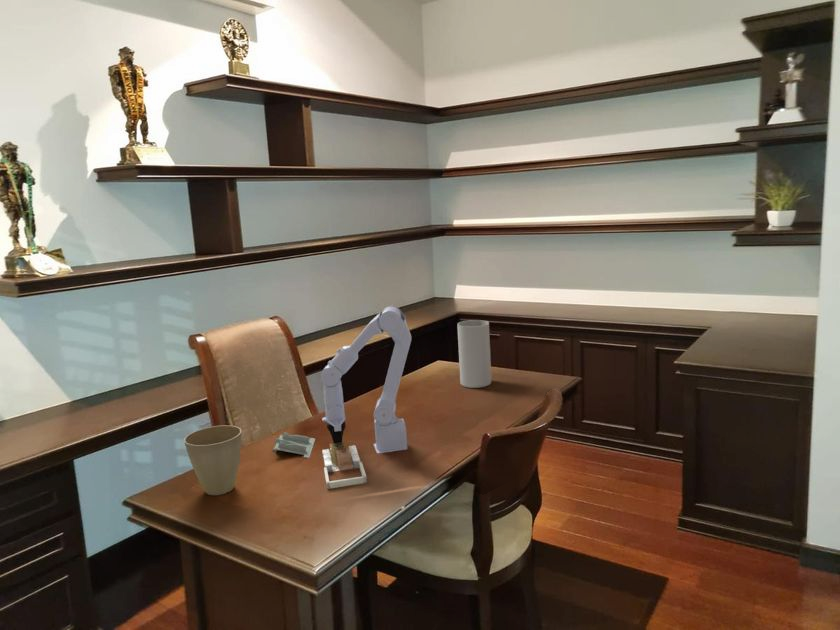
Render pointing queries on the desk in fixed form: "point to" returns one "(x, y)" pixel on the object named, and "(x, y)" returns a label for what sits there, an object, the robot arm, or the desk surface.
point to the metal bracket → (294, 444)
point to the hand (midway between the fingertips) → (337, 445)
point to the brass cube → (333, 450)
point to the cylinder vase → (474, 353)
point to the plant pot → (215, 457)
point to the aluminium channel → (333, 465)
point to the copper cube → (344, 458)
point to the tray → (346, 481)
